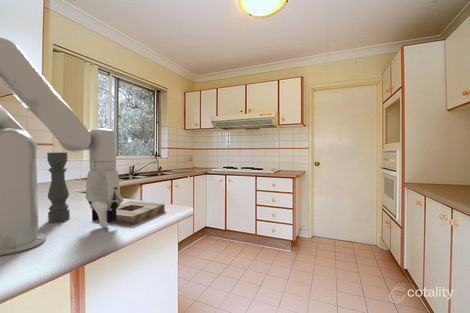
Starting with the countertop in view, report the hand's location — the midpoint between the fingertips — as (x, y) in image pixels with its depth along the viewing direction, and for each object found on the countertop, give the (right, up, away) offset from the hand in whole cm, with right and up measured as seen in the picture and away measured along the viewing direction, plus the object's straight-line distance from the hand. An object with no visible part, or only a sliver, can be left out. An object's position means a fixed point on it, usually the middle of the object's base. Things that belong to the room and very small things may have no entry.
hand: (104, 220), depth 73 cm
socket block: (+2, -2, +14) cm, 14 cm away
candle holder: (-22, -3, +8) cm, 23 cm away
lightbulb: (0, -3, 0) cm, 3 cm away
